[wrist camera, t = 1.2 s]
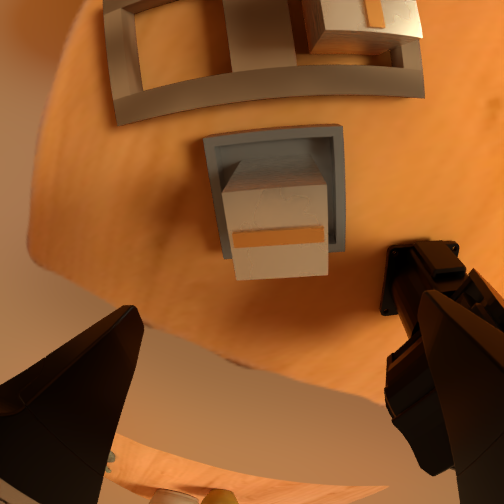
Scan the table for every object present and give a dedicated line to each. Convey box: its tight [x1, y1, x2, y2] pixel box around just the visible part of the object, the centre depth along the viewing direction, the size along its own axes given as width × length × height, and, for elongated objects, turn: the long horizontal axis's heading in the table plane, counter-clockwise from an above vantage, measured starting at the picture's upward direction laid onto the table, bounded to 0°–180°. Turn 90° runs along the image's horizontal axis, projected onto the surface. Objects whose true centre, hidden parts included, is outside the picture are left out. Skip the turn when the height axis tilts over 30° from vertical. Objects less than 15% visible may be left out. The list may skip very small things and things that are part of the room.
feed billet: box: [222, 155, 328, 280], centre depth 16 cm, size 4×4×7 cm
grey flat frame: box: [103, 0, 425, 126], centre depth 14 cm, size 10×19×2 cm, turn 97°
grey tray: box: [203, 124, 346, 259], centre depth 19 cm, size 8×8×2 cm
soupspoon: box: [105, 451, 115, 473], centre depth 53 cm, size 22×3×7 cm
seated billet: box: [301, 0, 423, 55], centre depth 11 cm, size 4×4×7 cm
